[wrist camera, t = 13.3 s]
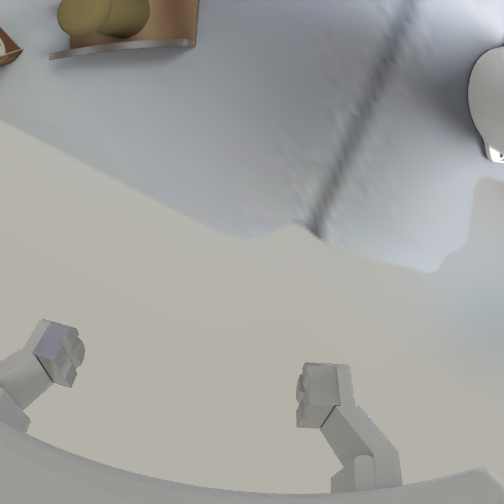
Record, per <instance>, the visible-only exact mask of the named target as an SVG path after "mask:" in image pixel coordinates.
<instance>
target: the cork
mask: <svg viewBox="0 0 504 504" xmlns="http://www.w3.org/2000/svg"><path fill="white" fill-rule="evenodd" d="M149 16H150V5H149V1H148V0H62V2H61V3H60V6H59V9H58V14H57V19H58V23H59V26H60V27H61V29H62V30H63V31H64V32H66V33H67V34H69V35H73V36H84V35H89V34H91V33H93V32H97V33H101V34H105V35H109V36H113V37H117V38H128V37H131V36H133V35H136V34H137V33H138V32H139V31H141V30H142V29H143V27H144V26H145V25H146V24H147V21H148V19H149Z"/></svg>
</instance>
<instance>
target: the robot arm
mask: <svg viewBox="0 0 504 504" xmlns="http://www.w3.org/2000/svg"><path fill="white" fill-rule="evenodd" d="M468 100H469V108H470V112H471V116H472V119H473V121H474V124H475V126H476V128H477V130H478V131H479V133H480V134H481V136H482V138H483V140H484V145H485V151H486V155H487V157H488V159H489V160H491V161H493V162H496V163H504V46H502V47H498V48H494V49H491V50H489V51H487V52H486V53H484V54H483V55H482V56H481V57H480V58H479V59H478V61H477V62H476V64H475V66H474V68H473V70H472V73H471V76H470V80H469V88H468ZM500 153H501V155H500ZM499 155H500V156H499ZM78 335H79V333H78V331H77V329H76V328H73V327H70V326H66V325H63V324H59V323H55V322H52V321H49V320H45V319H42V320H41V321H40V322H39V323H38V324H37V326H36V328H35V329H34V331H33V332H32V334H31V336H30V337H29V339H28V341H27V343H26V344H25V346H24V348H23V349H22V350H18V351H16V352H14V353H13V354H11V355H10V356H8V357H7V358H5V359H4V360H2V361H1V362H0V504H504V484H503V483H502V482H501V481H500V480H499V479H498V478H497V477H496V476H495V475H494V474H493V473H492V472H491V471H490V470H488V469H487V468H485V467H479V468H475V469H472V470H468V471H464V472H461V473H457V474H454V475H450V476H446V477H442V478H437V479H433V480H428V481H423V482H419V483H413V484H407V485H402V477H401V469H400V462H399V455H398V451H397V450H396V448H395V447H394V446H393V445H392V444H391V443H390V441H389V440H388V439H387V438H386V437H385V436H384V434H383V433H382V432H381V431H380V430H379V429H378V427H377V426H376V425H375V424H374V423H373V421H372V420H371V419H370V418H369V417H368V415H367V414H366V413H365V412H364V411H363V409H362V408H361V407H360V406H356V405H355V398H354V391H353V384H352V377H351V370H350V367H349V365H347V364H329V363H305V364H304V366H303V368H302V369H303V374H301V375H300V376H299V379H298V383H297V390H296V400H297V401H298V403H299V406H298V408H297V411H296V412H297V413H296V414H297V415H296V417H297V427H300V428H321V429H320V431H321V432H322V434H323V435H324V437H325V438H326V440H327V441H328V443H329V444H330V446H331V447H332V449H333V451H334V452H335V454H336V455H337V457H338V459H339V460H340V462H341V463H342V465H343V466H344V468H342V469H341V470H340V471H339V472H338V473H336V474H335V475H334V476H333V477H332V478H331V493H322V494H276V493H256V492H243V491H232V490H223V489H215V488H207V487H201V486H194V485H188V484H183V483H177V482H172V481H167V480H162V479H158V478H153V477H148V476H145V475H141V474H136V473H133V472H129V471H125V470H122V469H118V468H115V467H112V466H108V465H105V464H102V463H99V462H96V461H93V460H89V459H87V458H84V457H81V456H78V455H75V454H73V453H70V452H68V451H65V450H62V449H60V448H57V447H55V446H52V445H50V444H48V443H45V442H43V441H41V440H38V439H36V438H34V437H32V436H30V435H28V434H26V432H27V429H28V427H29V424H30V422H31V421H30V418H29V417H28V416H27V415H26V414H25V413H24V412H23V410H24V409H25V408H26V407H27V406H28V405H30V403H32V402H33V401H34V400H35V399H36V398H38V397H39V396H40V395H41V394H42V393H43V392H45V391H46V390H47V389H48V388H49V387H50V386H51V385H53V383H56V384H59V385H63V386H66V387H69V388H71V387H72V384H73V382H74V380H75V378H76V375H77V372H76V368H77V367H79V366H80V365H81V364H82V362H83V359H84V354H85V348H84V344H83V342H82V341H81V340H80V339H79V338H78Z"/></svg>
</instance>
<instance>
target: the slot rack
mask: <svg viewBox="0 0 504 504" xmlns="http://www.w3.org/2000/svg"><path fill="white" fill-rule="evenodd" d="M148 1H149V5H150V16H149V19H148V21H147V24H146V25H145V26H144V27H143V29H142V30H141V31H139V32H138V33H137V34H136V35H133V36H131V37H128V38H117V37H113V36H109V35H105V34H101V33H97V32H93V33H91V34H89V35H84V36H73V35H70V50H66V51H61V52H56V53H51V54H49V60H54V59H59V58H64V57H70V56H76V55H82V54H89V53H96V52H104V51H113V50H123V49H135V48H151V47H195V46H196V33H197V21H198V10H199V0H148Z"/></svg>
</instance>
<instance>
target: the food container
mask: <svg viewBox="0 0 504 504" xmlns="http://www.w3.org/2000/svg"><path fill="white" fill-rule="evenodd" d="M22 51H23V48H22V47H21V46H20V45H19V44H18V43H17V42H16V41H15V40H14V39H13V38H12V37H11V36H10V35H9V33H8V32H7V31H6V30H5V29H4V28H3V27H2V26H1V25H0V67H1V66H4V65H6V64H9V63H11V62H13V61H14V60H15V59H16V58H17V57H18V56H19V55H20V54H21V52H22Z"/></svg>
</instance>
